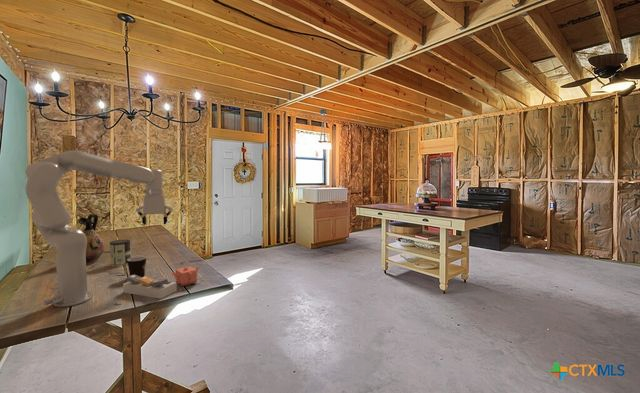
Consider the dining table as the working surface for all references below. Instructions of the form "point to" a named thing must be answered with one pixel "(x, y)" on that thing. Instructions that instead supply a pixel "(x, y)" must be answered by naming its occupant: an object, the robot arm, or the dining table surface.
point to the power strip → (150, 289)
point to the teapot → (186, 275)
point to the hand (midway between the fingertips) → (155, 224)
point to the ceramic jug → (92, 239)
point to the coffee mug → (137, 266)
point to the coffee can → (120, 252)
